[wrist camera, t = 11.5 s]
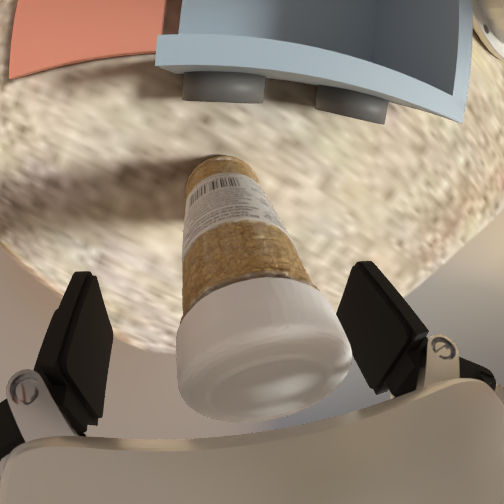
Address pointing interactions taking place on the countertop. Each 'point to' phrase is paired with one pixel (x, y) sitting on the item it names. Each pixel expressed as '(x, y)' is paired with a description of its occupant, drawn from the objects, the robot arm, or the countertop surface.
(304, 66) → the box
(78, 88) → the countertop surface
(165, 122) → the countertop surface
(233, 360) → the sprinkles bottle
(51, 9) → the panel
